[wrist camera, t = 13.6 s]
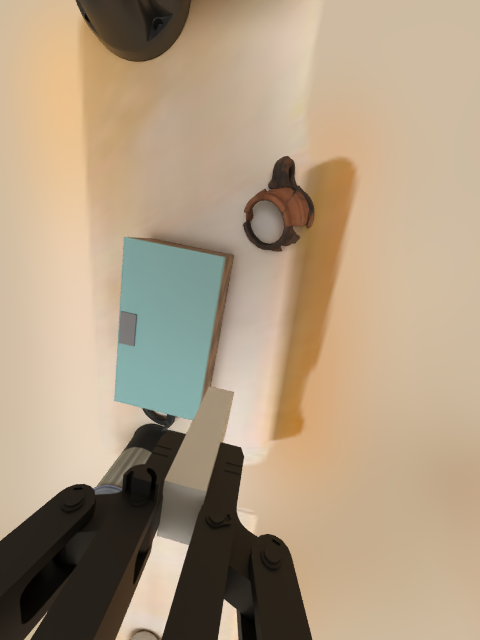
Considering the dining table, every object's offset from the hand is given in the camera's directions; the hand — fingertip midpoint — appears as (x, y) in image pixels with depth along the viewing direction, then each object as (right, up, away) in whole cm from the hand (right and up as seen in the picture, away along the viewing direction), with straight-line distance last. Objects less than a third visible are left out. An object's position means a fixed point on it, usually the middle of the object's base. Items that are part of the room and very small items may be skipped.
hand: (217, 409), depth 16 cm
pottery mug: (+8, +22, +25) cm, 34 cm away
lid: (-10, +3, +25) cm, 27 cm away
